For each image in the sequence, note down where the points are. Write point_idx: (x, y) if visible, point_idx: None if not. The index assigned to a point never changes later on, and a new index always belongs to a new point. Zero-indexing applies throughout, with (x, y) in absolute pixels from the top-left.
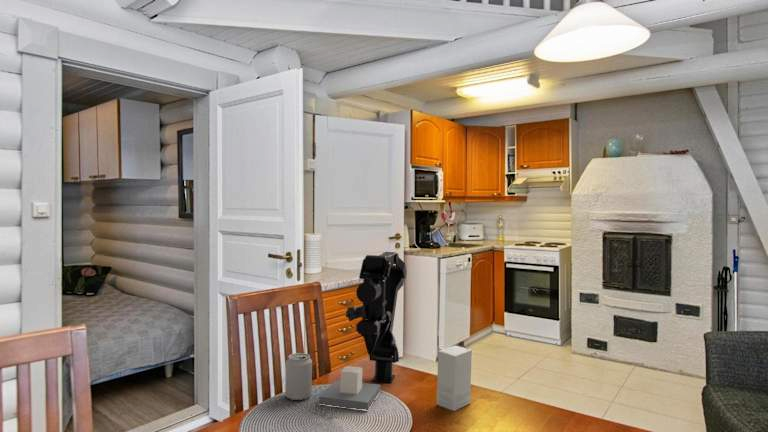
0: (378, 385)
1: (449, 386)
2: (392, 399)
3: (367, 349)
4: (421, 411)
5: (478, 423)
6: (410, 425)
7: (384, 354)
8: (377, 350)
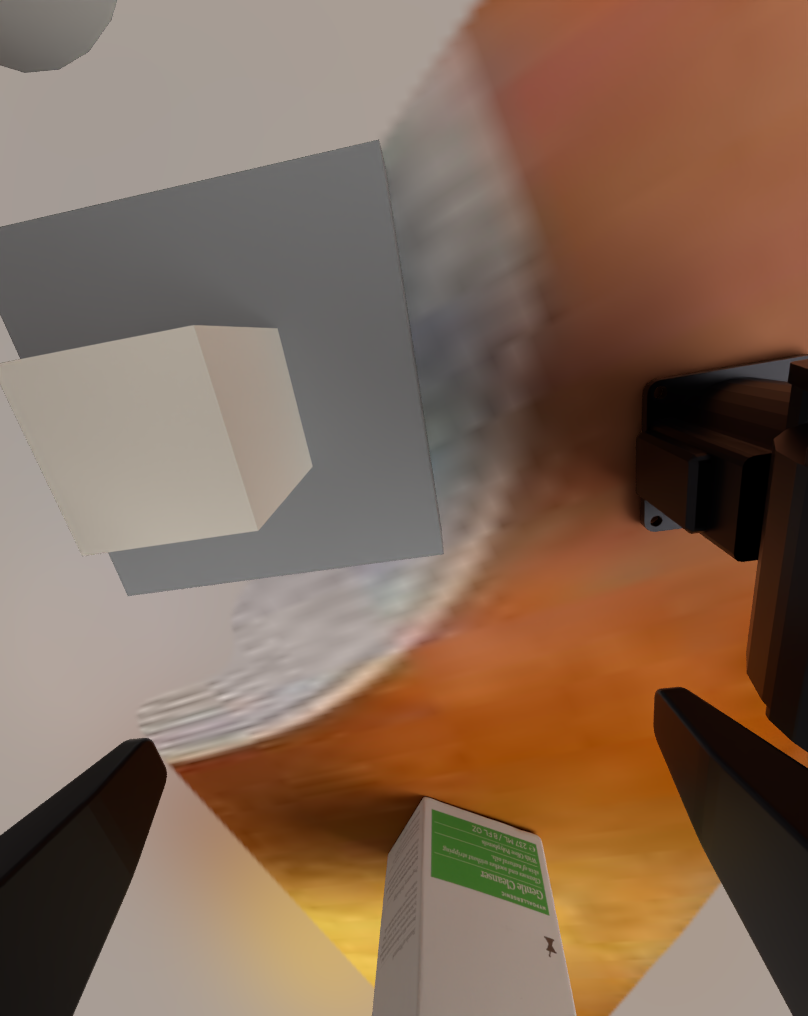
0: (422, 547)
1: (384, 972)
2: (384, 619)
3: (45, 814)
4: (318, 762)
5: (328, 919)
6: (164, 759)
7: (754, 615)
8: (791, 556)
